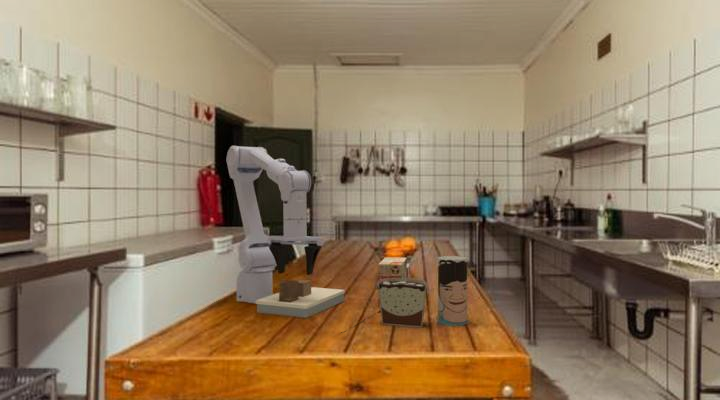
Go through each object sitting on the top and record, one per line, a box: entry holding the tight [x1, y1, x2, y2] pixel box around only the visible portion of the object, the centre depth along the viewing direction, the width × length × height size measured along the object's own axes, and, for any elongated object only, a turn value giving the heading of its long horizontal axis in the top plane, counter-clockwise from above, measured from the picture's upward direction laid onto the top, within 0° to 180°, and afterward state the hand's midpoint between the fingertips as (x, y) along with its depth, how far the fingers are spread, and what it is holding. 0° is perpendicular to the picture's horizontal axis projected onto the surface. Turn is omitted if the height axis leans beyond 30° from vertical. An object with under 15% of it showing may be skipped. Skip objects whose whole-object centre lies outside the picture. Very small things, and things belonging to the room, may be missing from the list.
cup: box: [437, 255, 468, 327], centre depth 122 cm, size 7×7×15 cm
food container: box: [375, 277, 429, 328], centre depth 122 cm, size 12×6×10 cm, turn 71°
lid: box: [255, 279, 346, 309], centre depth 136 cm, size 15×21×4 cm
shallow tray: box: [256, 293, 345, 319], centre depth 136 cm, size 14×20×3 cm
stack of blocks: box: [377, 256, 411, 308], centre depth 145 cm, size 21×6×12 cm, turn 169°
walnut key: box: [278, 279, 299, 303], centre depth 130 cm, size 3×4×8 cm
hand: (295, 273), depth 130 cm, fingers open, 7 cm apart
